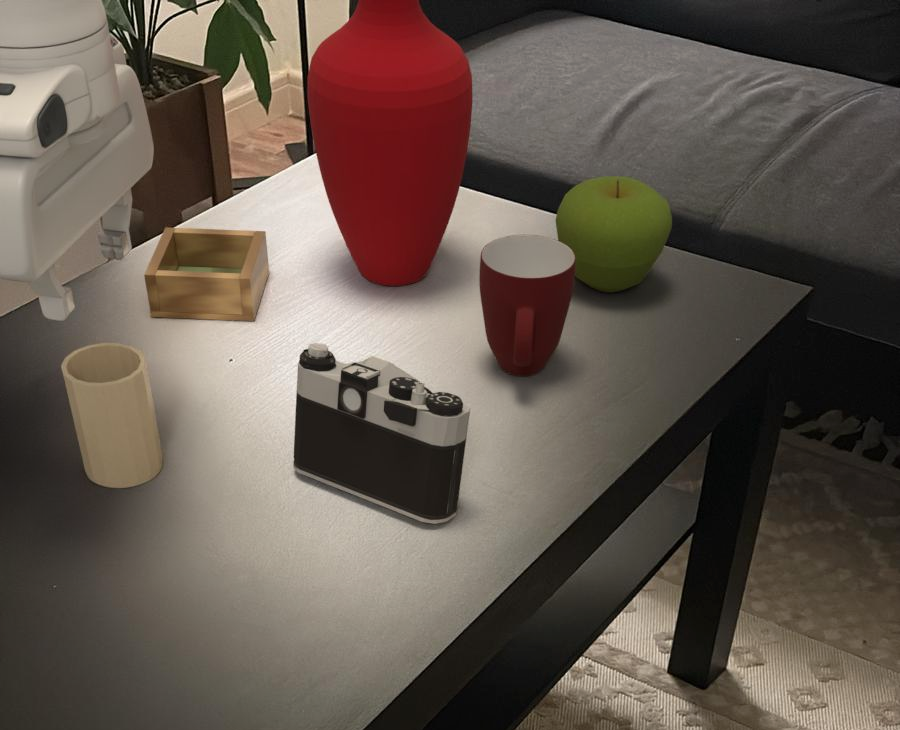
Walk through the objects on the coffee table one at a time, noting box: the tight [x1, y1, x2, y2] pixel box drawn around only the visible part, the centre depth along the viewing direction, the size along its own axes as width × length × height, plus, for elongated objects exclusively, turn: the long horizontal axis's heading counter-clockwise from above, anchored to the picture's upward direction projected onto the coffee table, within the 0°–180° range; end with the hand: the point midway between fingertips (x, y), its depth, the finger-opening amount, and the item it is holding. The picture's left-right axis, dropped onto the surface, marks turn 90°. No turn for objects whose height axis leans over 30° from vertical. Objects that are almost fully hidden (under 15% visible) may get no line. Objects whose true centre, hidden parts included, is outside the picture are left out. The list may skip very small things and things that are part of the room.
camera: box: [292, 342, 471, 525], centre depth 100 cm, size 15×11×10 cm
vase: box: [306, 0, 473, 287], centre depth 115 cm, size 15×15×30 cm
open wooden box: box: [143, 227, 270, 322], centre depth 121 cm, size 10×10×4 cm
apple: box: [555, 175, 673, 294], centre depth 121 cm, size 11×10×10 cm
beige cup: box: [60, 342, 164, 489], centre depth 100 cm, size 6×6×9 cm
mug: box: [478, 234, 576, 377], centre depth 110 cm, size 11×8×10 cm
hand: (89, 284), depth 92 cm, fingers open, 8 cm apart
